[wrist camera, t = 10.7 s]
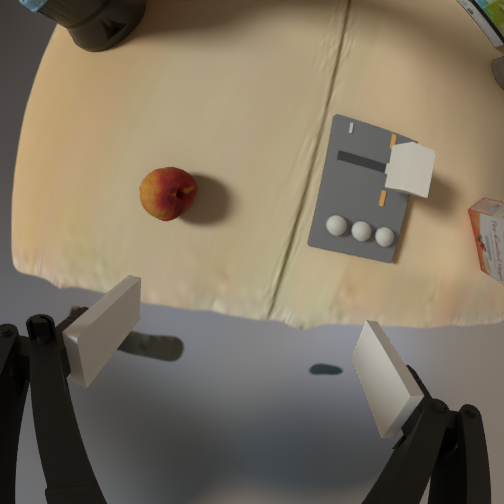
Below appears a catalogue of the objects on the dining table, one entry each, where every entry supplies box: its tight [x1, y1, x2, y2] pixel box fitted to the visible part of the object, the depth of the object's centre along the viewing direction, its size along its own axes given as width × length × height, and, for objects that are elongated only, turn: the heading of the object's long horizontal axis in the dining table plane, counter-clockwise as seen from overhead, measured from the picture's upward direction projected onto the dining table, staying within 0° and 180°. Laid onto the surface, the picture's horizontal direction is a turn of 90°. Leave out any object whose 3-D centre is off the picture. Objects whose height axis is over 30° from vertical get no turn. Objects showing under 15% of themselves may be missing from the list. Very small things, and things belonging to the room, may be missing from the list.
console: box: [308, 114, 418, 263], centre depth 39 cm, size 20×14×4 cm
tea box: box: [458, 0, 504, 47], centre depth 20 cm, size 15×10×15 cm, turn 44°
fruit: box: [140, 167, 197, 221], centre depth 38 cm, size 8×8×8 cm
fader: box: [385, 142, 435, 198], centre depth 33 cm, size 6×4×10 cm, turn 170°
